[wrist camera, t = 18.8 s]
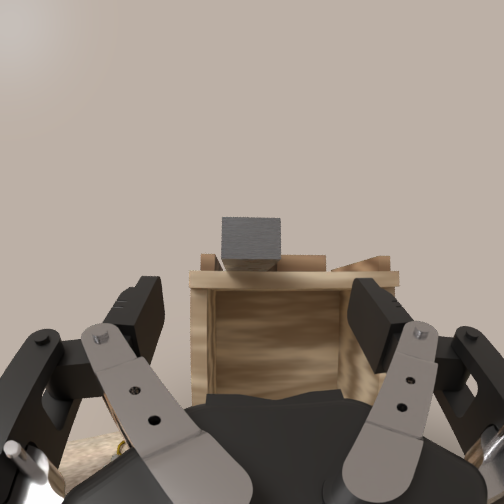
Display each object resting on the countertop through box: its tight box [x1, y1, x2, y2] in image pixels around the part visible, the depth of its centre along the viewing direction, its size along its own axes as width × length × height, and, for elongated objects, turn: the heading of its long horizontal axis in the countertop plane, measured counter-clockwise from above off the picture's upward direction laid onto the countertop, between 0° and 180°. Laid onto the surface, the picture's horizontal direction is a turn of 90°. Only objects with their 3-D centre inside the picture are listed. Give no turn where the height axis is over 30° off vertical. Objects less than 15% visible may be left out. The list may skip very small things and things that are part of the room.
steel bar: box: [221, 217, 281, 272], centre depth 30 cm, size 24×4×2 cm, turn 3°
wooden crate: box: [189, 254, 399, 406], centre depth 33 cm, size 16×20×32 cm
